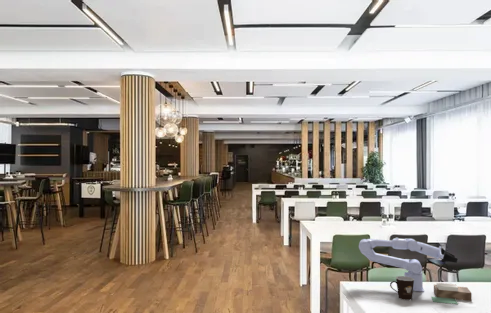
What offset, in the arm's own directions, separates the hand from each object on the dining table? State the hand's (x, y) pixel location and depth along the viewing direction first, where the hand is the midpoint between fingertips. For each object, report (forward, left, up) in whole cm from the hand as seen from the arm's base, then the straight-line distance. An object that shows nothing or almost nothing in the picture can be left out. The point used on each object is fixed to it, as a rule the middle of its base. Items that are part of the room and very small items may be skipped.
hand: (455, 259), depth 208 cm
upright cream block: (-6, -8, -14) cm, 17 cm away
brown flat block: (-3, -6, -18) cm, 19 cm away
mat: (-8, -16, -18) cm, 25 cm away
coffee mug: (-28, -18, -18) cm, 38 cm away
